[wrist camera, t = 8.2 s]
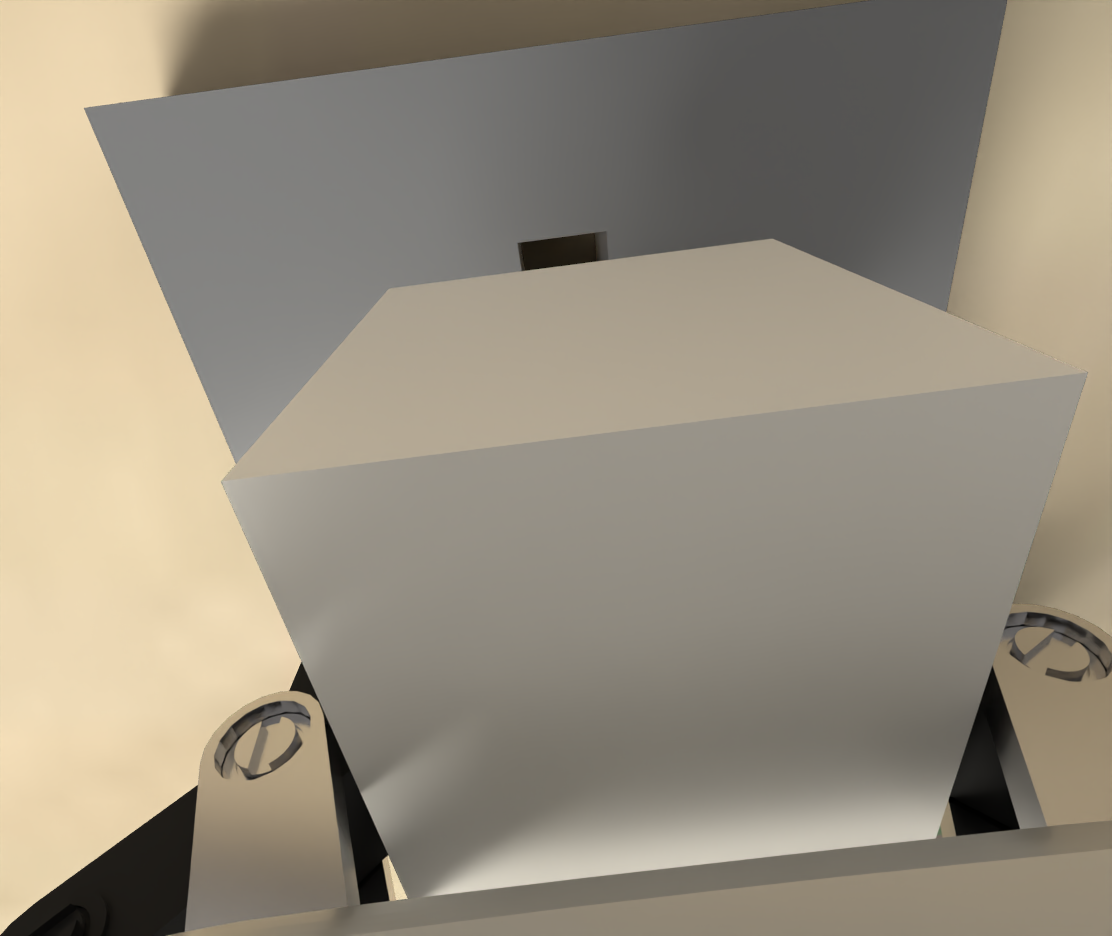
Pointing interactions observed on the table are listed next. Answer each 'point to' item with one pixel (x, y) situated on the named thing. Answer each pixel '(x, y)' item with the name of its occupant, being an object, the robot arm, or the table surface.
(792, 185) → the socket
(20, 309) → the table surface
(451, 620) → the plug
